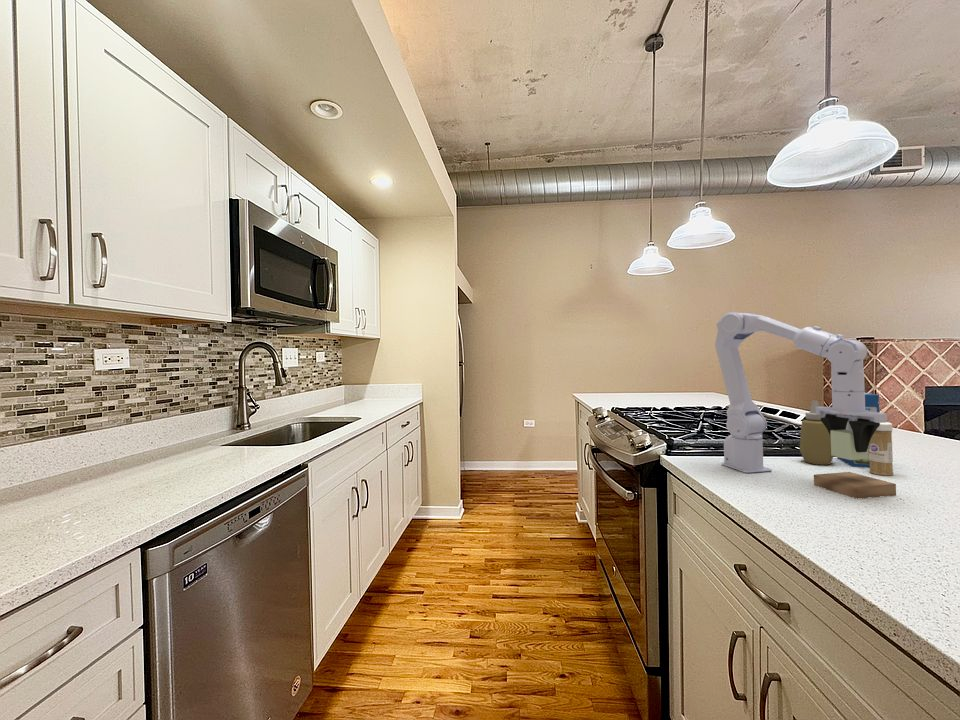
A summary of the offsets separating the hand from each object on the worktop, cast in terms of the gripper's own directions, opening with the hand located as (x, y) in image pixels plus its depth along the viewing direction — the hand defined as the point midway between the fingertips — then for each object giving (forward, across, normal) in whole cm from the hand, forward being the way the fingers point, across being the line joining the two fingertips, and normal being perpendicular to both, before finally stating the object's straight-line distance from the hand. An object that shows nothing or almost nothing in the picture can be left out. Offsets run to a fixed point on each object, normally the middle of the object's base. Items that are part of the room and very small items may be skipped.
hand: (849, 449), depth 95 cm
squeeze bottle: (+10, -22, +14) cm, 28 cm away
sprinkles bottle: (+10, -9, +19) cm, 23 cm away
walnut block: (+10, 0, 0) cm, 10 cm away
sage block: (+2, 0, 0) cm, 2 cm away
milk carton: (+10, -19, +24) cm, 32 cm away
